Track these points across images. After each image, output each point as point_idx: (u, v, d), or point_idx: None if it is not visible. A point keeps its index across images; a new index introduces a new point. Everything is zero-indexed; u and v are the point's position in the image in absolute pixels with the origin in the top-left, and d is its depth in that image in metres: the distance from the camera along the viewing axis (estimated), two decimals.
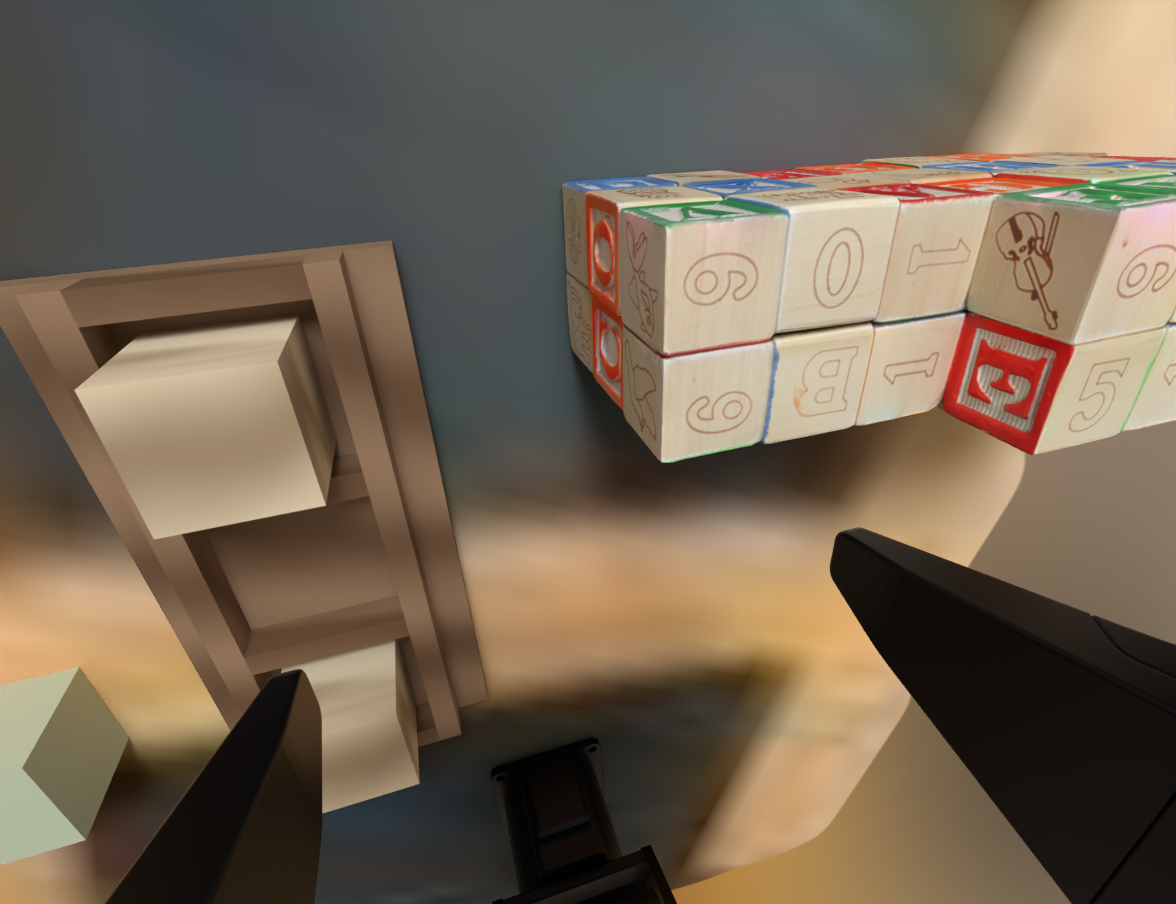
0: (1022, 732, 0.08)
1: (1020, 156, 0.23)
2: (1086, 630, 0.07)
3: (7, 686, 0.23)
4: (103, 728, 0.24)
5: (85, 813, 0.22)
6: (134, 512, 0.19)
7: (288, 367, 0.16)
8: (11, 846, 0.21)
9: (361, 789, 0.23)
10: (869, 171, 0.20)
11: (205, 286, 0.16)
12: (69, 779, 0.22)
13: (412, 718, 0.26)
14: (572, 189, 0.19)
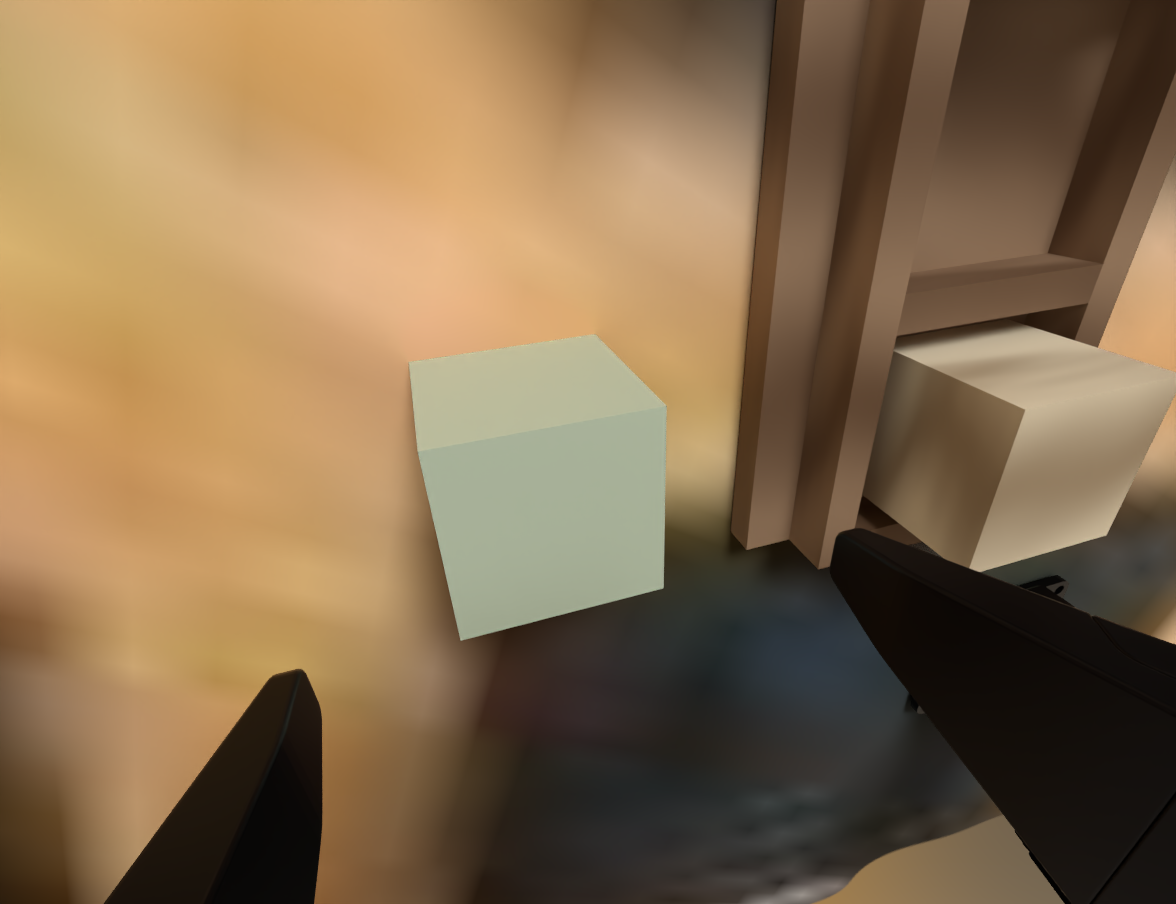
0: (1022, 732, 0.08)
1: None
2: (1086, 630, 0.07)
3: (501, 350, 0.14)
4: None
5: None
6: None
7: None
8: (575, 581, 0.12)
9: (1053, 529, 0.15)
10: None
11: None
12: None
13: None
14: None
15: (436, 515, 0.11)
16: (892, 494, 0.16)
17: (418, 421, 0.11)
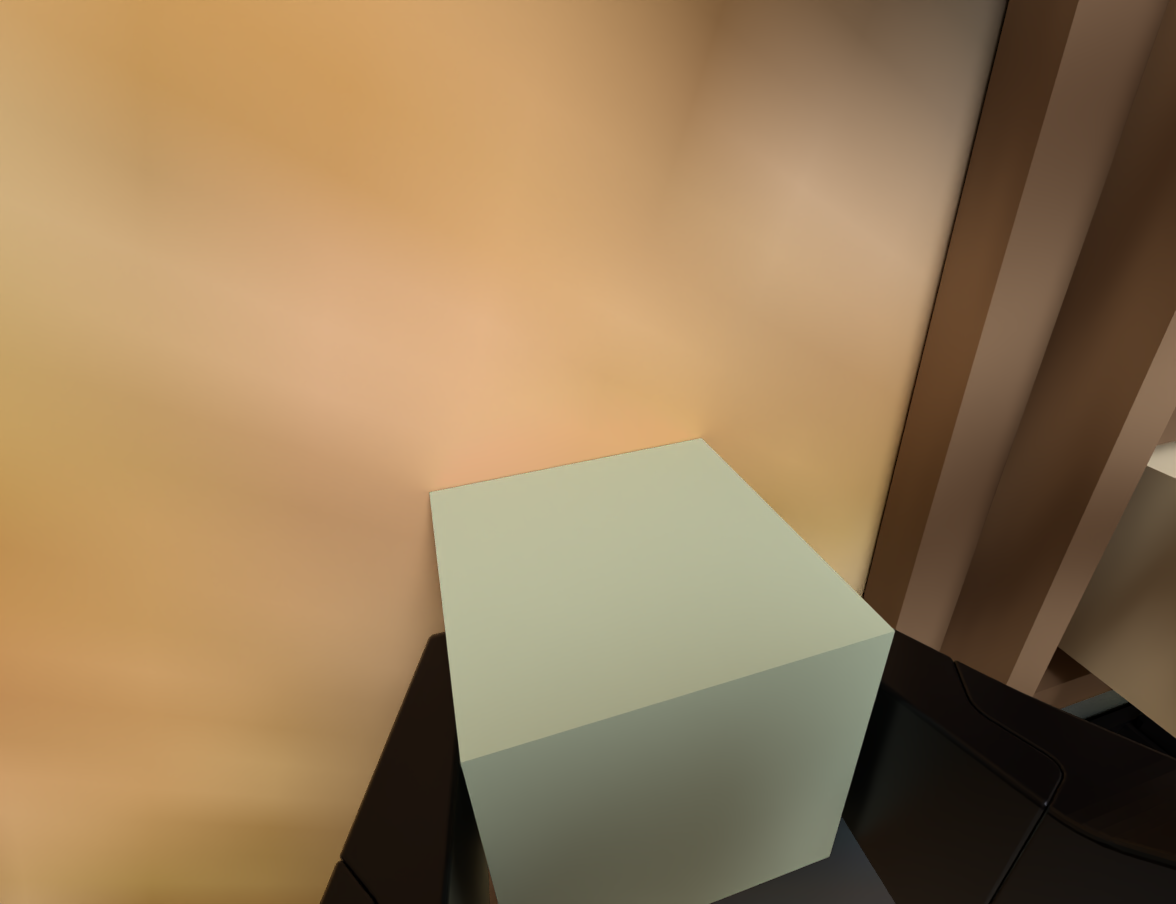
0: (882, 784, 0.07)
1: None
2: (942, 678, 0.07)
3: (568, 472, 0.09)
4: None
5: None
6: None
7: None
8: (704, 875, 0.08)
9: None
10: None
11: None
12: None
13: None
14: None
15: (490, 843, 0.06)
16: (1101, 647, 0.12)
17: (455, 659, 0.06)
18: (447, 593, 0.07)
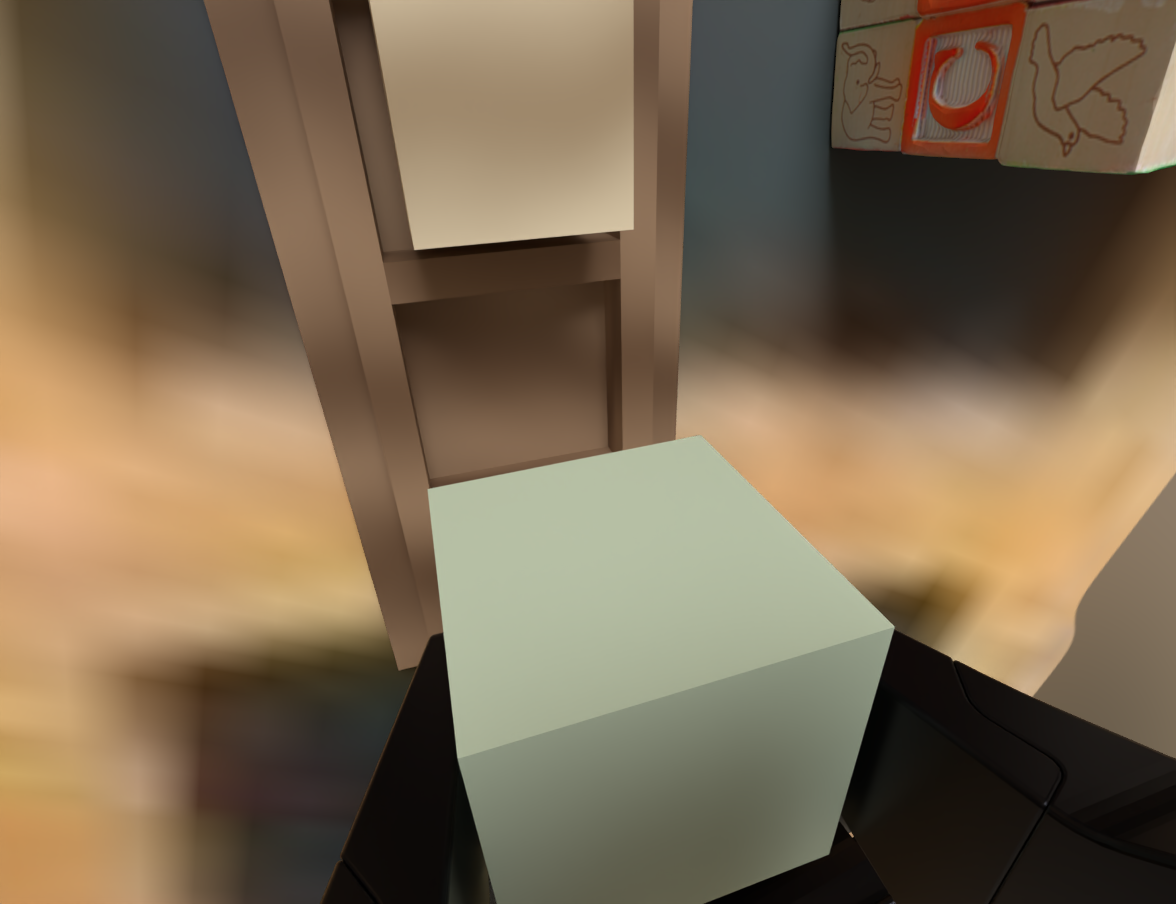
0: (882, 784, 0.07)
1: None
2: (941, 678, 0.07)
3: (567, 469, 0.09)
4: None
5: None
6: (340, 263, 0.14)
7: None
8: (704, 872, 0.07)
9: None
10: None
11: None
12: None
13: None
14: None
15: (487, 840, 0.06)
16: None
17: (453, 655, 0.06)
18: (445, 589, 0.07)
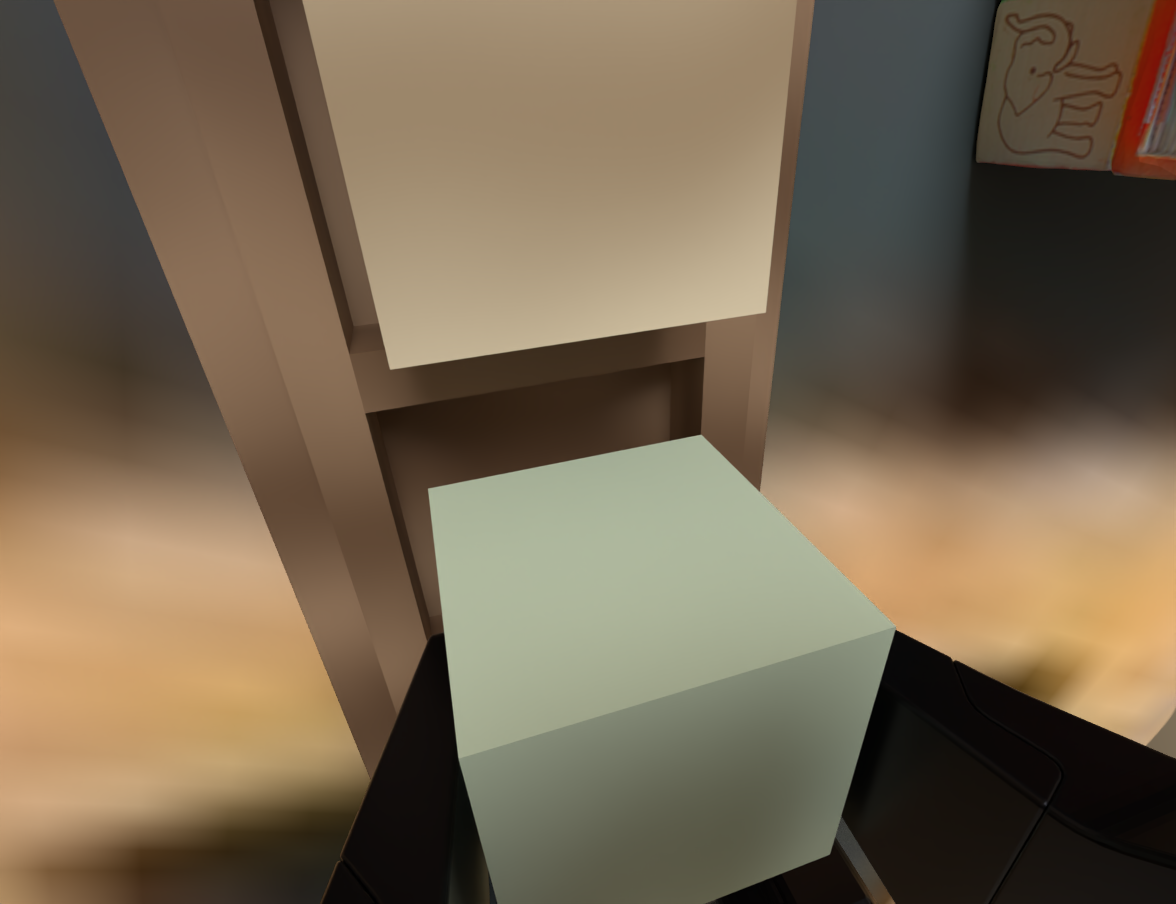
0: (882, 784, 0.07)
1: None
2: (942, 678, 0.07)
3: (567, 468, 0.09)
4: None
5: None
6: (281, 359, 0.09)
7: None
8: (705, 873, 0.07)
9: None
10: None
11: None
12: None
13: None
14: None
15: (488, 840, 0.06)
16: None
17: (454, 654, 0.06)
18: (445, 589, 0.07)
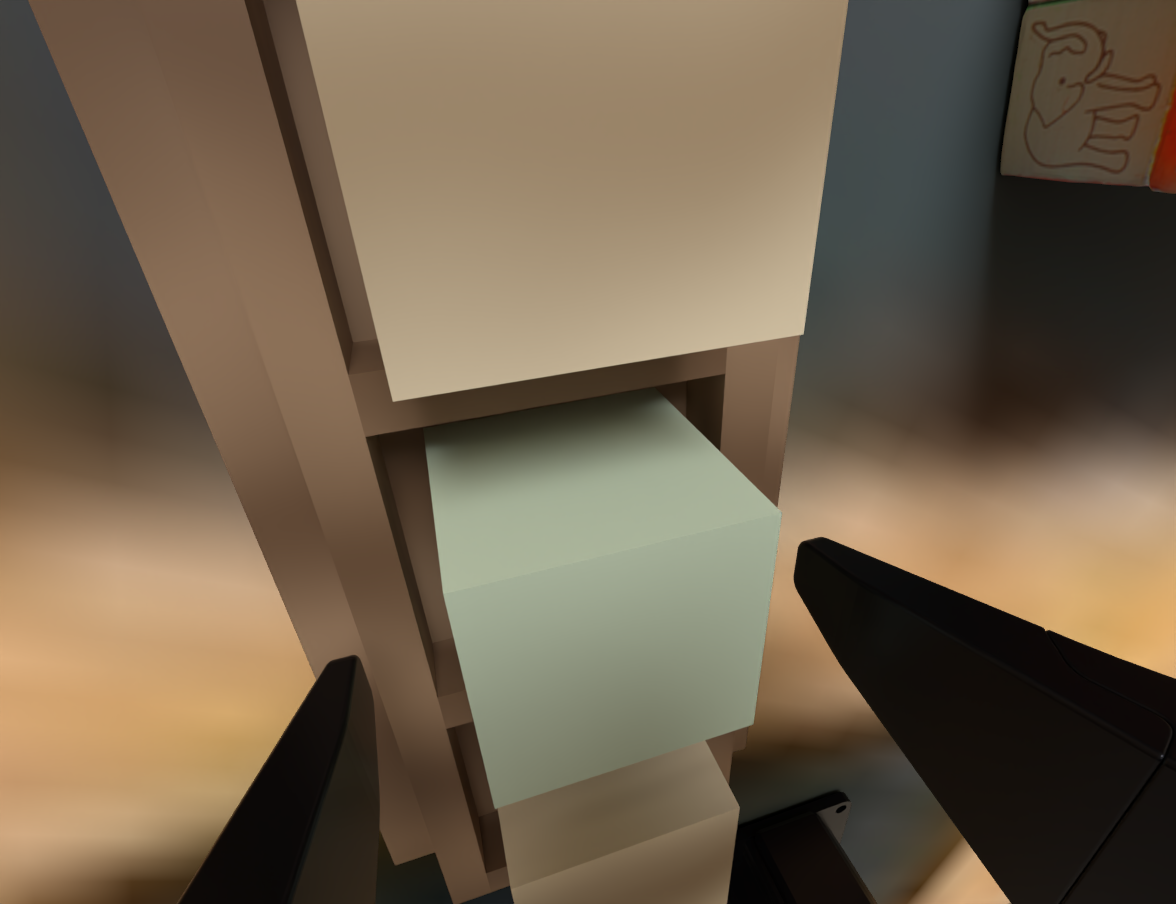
0: (976, 749, 0.08)
1: None
2: (1039, 646, 0.07)
3: (540, 412, 0.11)
4: None
5: None
6: (275, 381, 0.08)
7: None
8: (646, 727, 0.09)
9: None
10: None
11: None
12: None
13: None
14: None
15: (467, 670, 0.08)
16: None
17: (441, 534, 0.08)
18: (436, 495, 0.09)
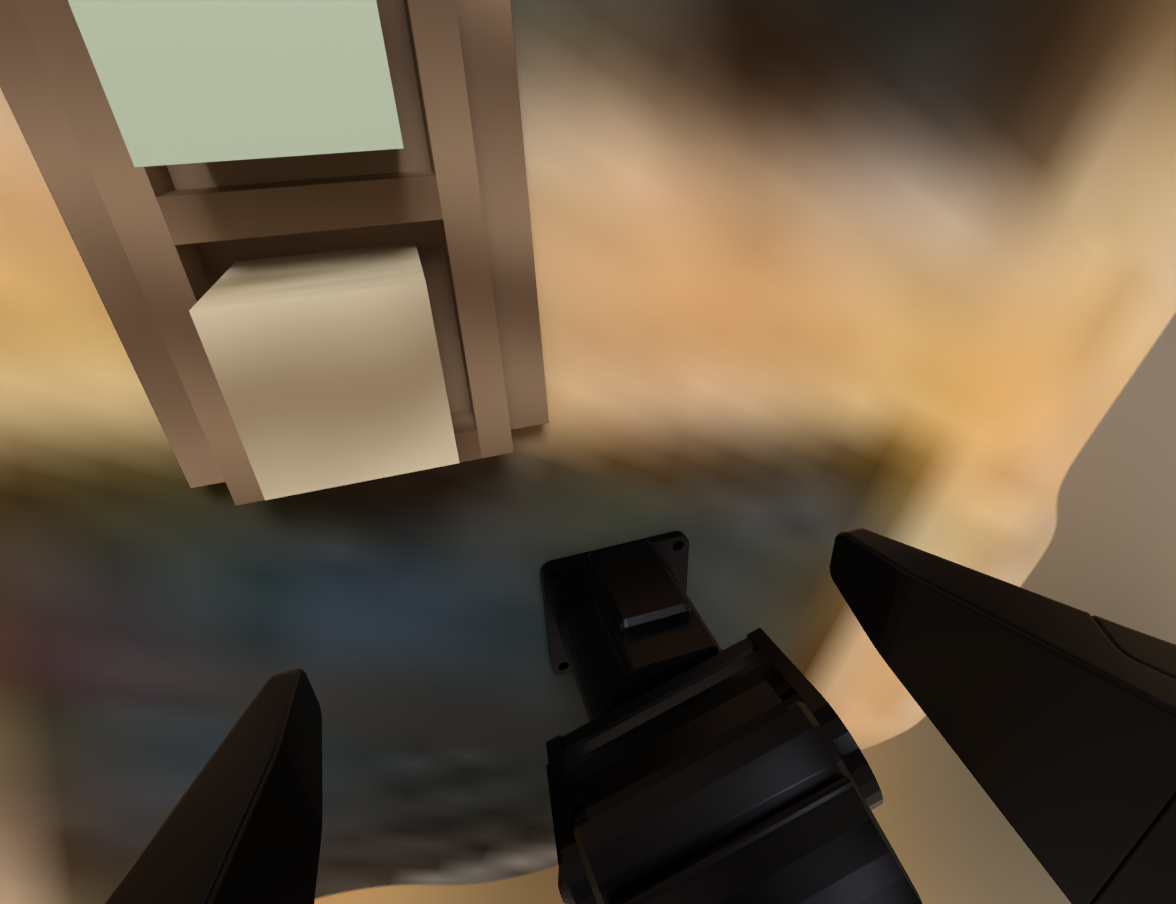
0: (1022, 732, 0.08)
1: None
2: (1086, 630, 0.07)
3: None
4: None
5: None
6: None
7: None
8: (277, 102, 0.10)
9: (364, 453, 0.14)
10: None
11: None
12: None
13: None
14: None
15: None
16: None
17: None
18: None
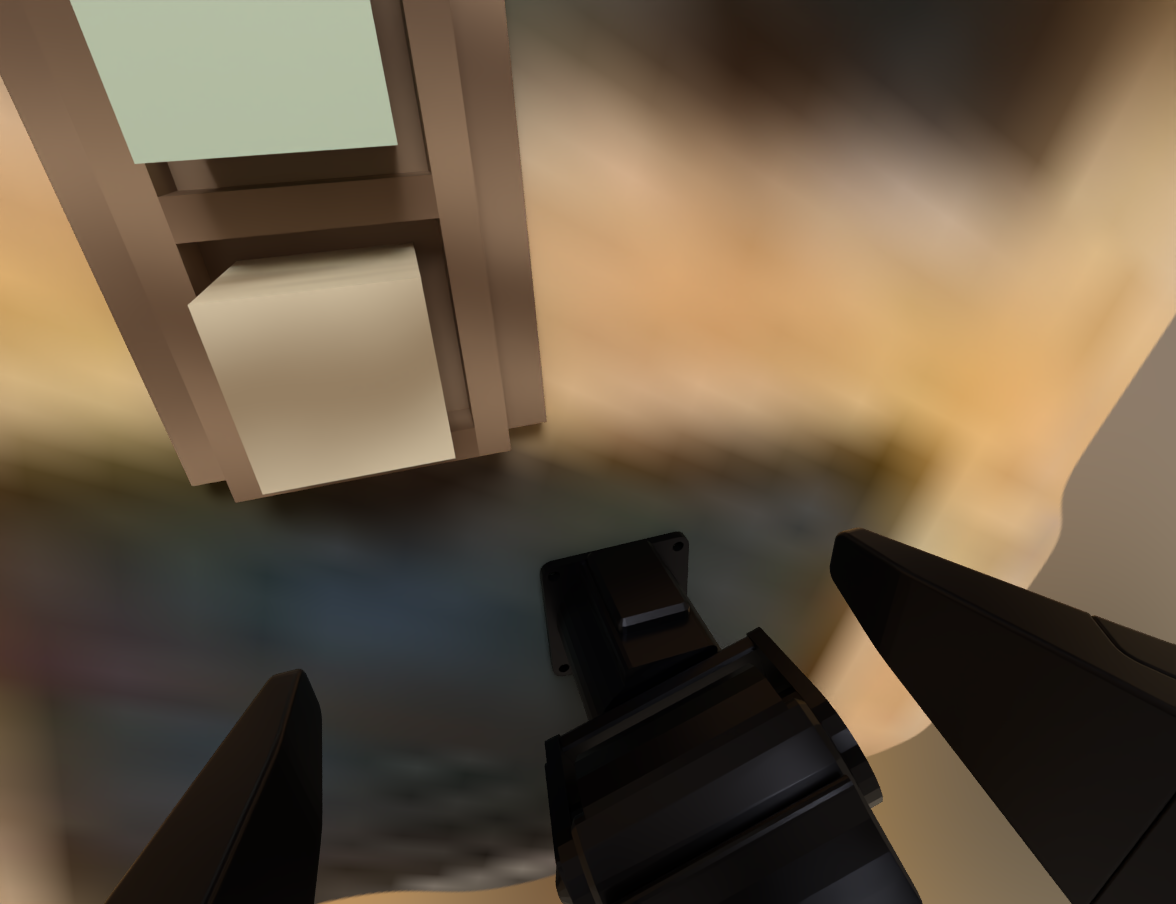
0: (1022, 732, 0.08)
1: None
2: (1086, 630, 0.07)
3: None
4: None
5: None
6: None
7: None
8: (273, 100, 0.10)
9: (360, 447, 0.14)
10: None
11: None
12: None
13: None
14: None
15: None
16: None
17: None
18: None
